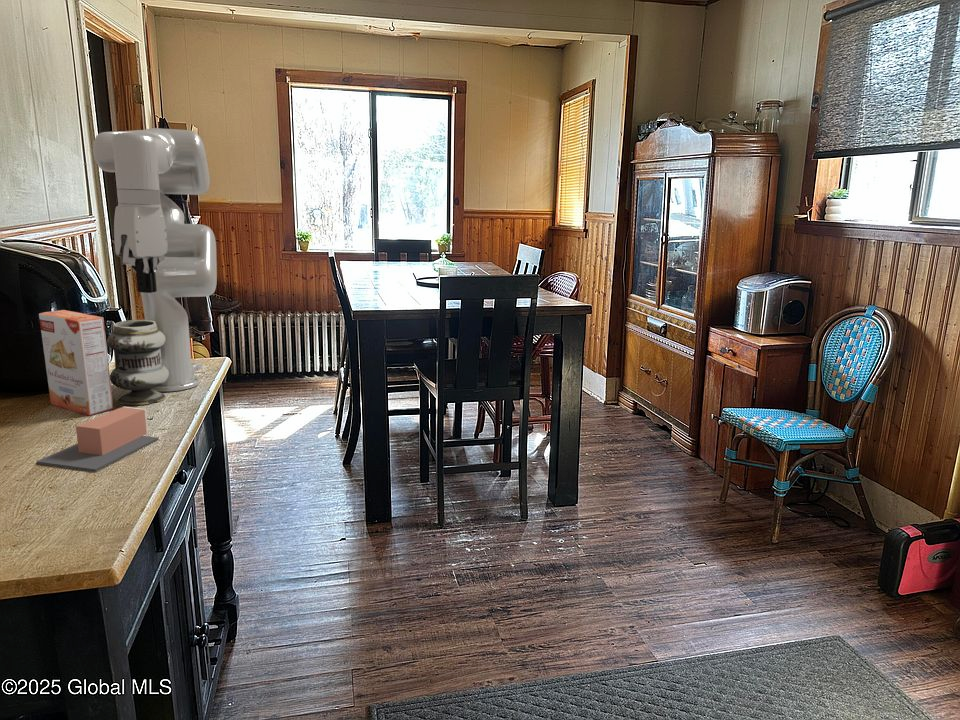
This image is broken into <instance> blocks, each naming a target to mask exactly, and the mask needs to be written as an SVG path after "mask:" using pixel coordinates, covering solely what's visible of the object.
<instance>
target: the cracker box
mask: <svg viewBox="0 0 960 720" xmlns="http://www.w3.org/2000/svg"><path fill="white" fill-rule="evenodd" d="M38 318H39V327H40V333H41V338H42V339H41V340H42V345H43V346H42V347H43V348H42V349H43V354H44V363H45V370H46V377H47V383H48V392H49V400H50V404H51V405H53V406H56V407H59V408H62V409H63V408H64V409H67V410H69V411H74V412H77V413H80V414H83V415H86V416H89V417H90V416H93V415H96V414H100V413H104V412H107V411H110V410H111V411H112V410H114V402H113V401H114V400H113V392H112V383H111V381H110V374H111V372H110V366H109V356H108V344H107V339H106V338H107V337H106V328H105V320H104V317H103V316H98V315H93V314H88V313H87V314H86V313H82V312H78V311H71V310H66V309H61V310H59V309H58V310H52V311H45V312H43V311H42V312H40V313H38Z"/></svg>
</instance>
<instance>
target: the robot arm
mask: <svg viewBox="0 0 960 720" xmlns="http://www.w3.org/2000/svg"><path fill="white" fill-rule="evenodd" d="M92 154H93V158H94V161H95V163H96V165H97V166H98V167H99V168H100V170H102V171H103V172H107V173H115V182H116V183H115V185H116V186H115V187H116V195H117V206H115V211H114V219H113V221H114V222H113V237H114V238H113V239H114V251H115V255H116V256H117V257H119V258H122V263H123V265H125V266H131V268H132V270H133V273H135V274H136V276H135V277H136V278H135V279H136V285H137V292H138V293H140V296H141V301H142V309H143V315H144V320H150V321H154V322H156V325H157V328H158V330H159V331H160V332H162V333H163V334H164V336H165V343H164V344H163V345H162V346H161V347H160V350H161V360H162V365H163V366H164V367H166V368H167V370H168V372H169V376H168V379H167V380H166V381H165V382H164V383H163V384H161V385H160V386H157V387H155V388H152V389H151V390H154V391H157V392H160V393H164V392H165V393H166V392H168V393H169V392H178V391H184V390H188V389H191V388H194V387H196V386H198V385H199V384H200V378H199V377H198V376H196V375H195V374H194V373H195V371H199V370H201V369H202V367H203V364H202V363H201V362H199V361H197V362H193V363H192V354H191V342H190V341H191V340H190V328H189V327H190V326H189V316H188V313H187V310H186V309H185V308H184V307H183V306H182V304H181V303H179V301H177V299H176V298H181V297H182V298H191V297H192V298H194V297H195V298H196V297H197V298H200V297H210V296H211V295H213V294H214V293H215V291H216V290H217V283H218V282H217V281H218V274H217V273H218V270H217V268H218V267H217V266H218V263H217V241H216V236H215V234H214V231H213V230H212V229H211V227H210V226H208V225H205V224H198V223H197V224H196V223H185V214H184V211H183V210H182V208H181V207H180V206H178V205H177V204H176V202H174V201H173V199H172V198H169V197H168V196H167V195H189V196H190V195H191V196H198V195H203V194H206V193H207V192H208V190H209V188H210V182H211V179H210V171H209V166H208V160H207V153H206V148H205V144H204V142H203V140H202V138H201V136H200V135H199V134H198V133H197V132H196V131H193V130H190V129H189V130H188V129H177V128H176V129H174V128H163V127H161V128H160V127H159V128H158V127H151V128H146V129H137V130H136V129H135V130H124V131H121V130H120V131H119V130H118V131H102V132H99V133H98V134H97V135H96V136H95V138H94V139H93V144H92Z"/></svg>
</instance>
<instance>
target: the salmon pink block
mask: <svg viewBox="0 0 960 720" xmlns="http://www.w3.org/2000/svg"><path fill="white" fill-rule="evenodd" d="M75 430H76V431H75V432H76V439H77V441H76V442H77V443H78V449H79V452H82V453H90V454H97V455H104V454H106V453H108V452H110V451H112V450H114V449H116V448H118V447H120V446H122V445H125V444H127V443H129V442H131V441H133V440H135V439H137V438H139V437H141V436H146V435H148V434H149V425H148V414H147V409H146V408H142V407H141V408H140V407H132V406H122V407H119V408H117V409H113V410H111V411H110V412H107V413H105V414H102V415H100V416H97V417H95V418H92V419H90V420H87V421H85V422H81V423H80V424H77V425H76V426H75Z"/></svg>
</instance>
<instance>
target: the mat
mask: <svg viewBox="0 0 960 720" xmlns="http://www.w3.org/2000/svg"><path fill="white" fill-rule="evenodd" d="M157 440H158V441H159V437H156V436H149V435H148V436H147V435H143V436H141V437H139V438H137V439H135V440H133V441H131V442H129V443H127V444H125V445H122V446H120V447H118V448H116V449H114V450H112V451H110V452H108V453H106V454H104V455H97V454H90V453H82V452H79V449H78V442H77V443H76V444H73V445H70V446H69V447H66V448H64V449H62V450H59V451H57V452H54V453H52V454H50V455H48V456H45V457H43V458H41V459H39V460H36V465H41V466H50V467H55V468H61V469H62V468H64V469H71V470H78V471H83V472H84V471H85V472H93V473H96V472H99V471H101V470H103V469H105V468H106V467H109V466H110V465H112V464H115V463H117V462H118V461H121V460H123V459H124V458H126V457H128V456H130V455H132V454H134V453H136V452H138V451H140V450H142V449H144V448H146V447H148V446H150V445H152V444H154V443H156V442H158V441H157ZM153 442H154V443H153ZM151 443H152V444H151ZM149 444H150V445H149ZM147 445H148V446H147ZM145 446H146V447H145ZM143 447H144V448H143ZM141 448H142V449H141ZM139 449H140V450H139ZM137 450H138V451H137Z"/></svg>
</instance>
